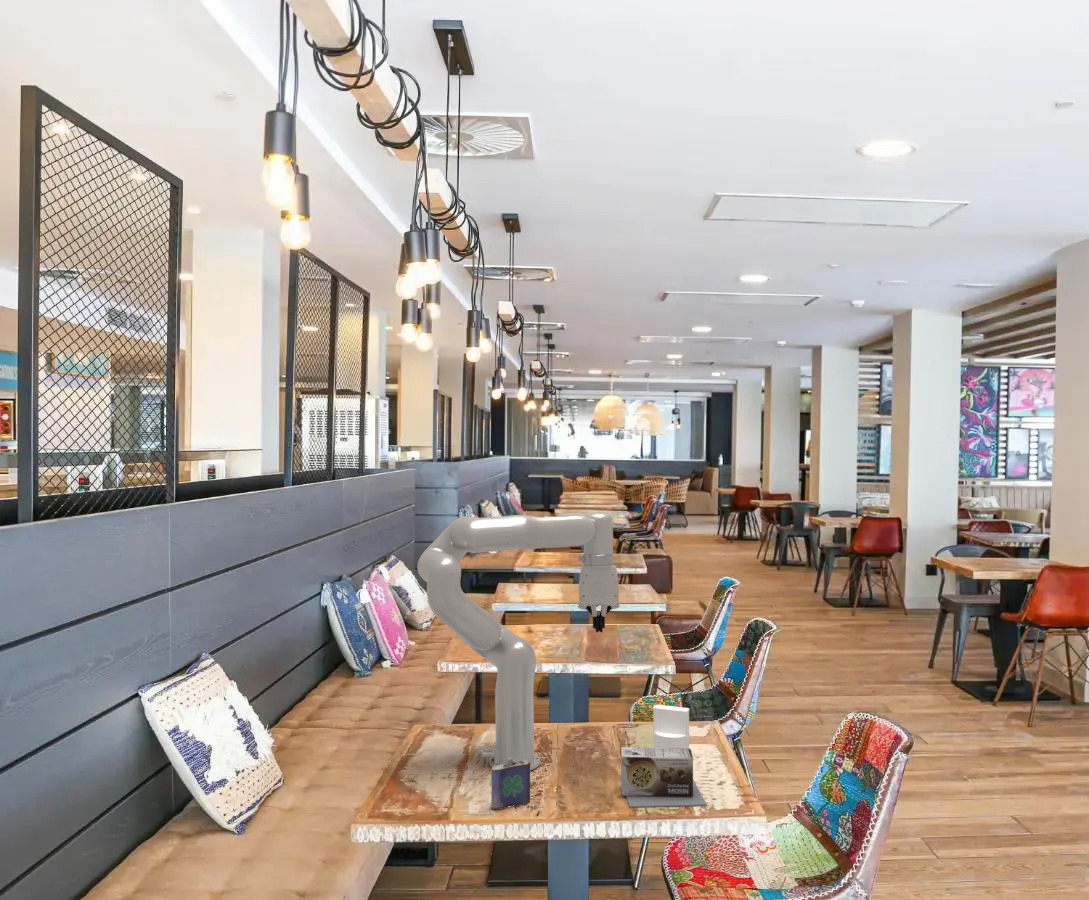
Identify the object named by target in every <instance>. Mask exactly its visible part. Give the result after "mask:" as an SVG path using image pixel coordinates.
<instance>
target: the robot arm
mask: <svg viewBox="0 0 1089 900" xmlns="http://www.w3.org/2000/svg"><path fill="white" fill-rule="evenodd" d="M613 522H614V520H613V516H612V514H610V513H607V512H598V511H597V512H588V513H575V512H563V513H560V514H557V516H556V517H553V516H552V517H545V516H543V517H541V516H533V515H526V514H514V515H505V516H503V515H502V516H489V517H487V516H486V517H471V516H468V515H467V516H465V515H464V516H460V517H458V518H456V519H455V520H453V521H452V522H451V523H450V524H449V525H448V526H447V527H446V528H445V529H444V530H443V531H442V532H441V533H440V534H439V535H438V537H436V539H435V540H434V541H433V542H432V543H430V545H429V546H428V547H427V548H426V549H425V550H424V551H423V553H422V554H421V555H420V557H419V559H418V561H417V572H418V574H419V576H420V578H421V579H422V580H423V581H425V582H426V584H427V585H426V599H427V603H428V605H429V607H430V610H431V611H432V613H433V614H434V615H435V616H436V617H437V618H438V619H439V620H440V621H441V622H442V623H443V624H445V625H446V626H447V627H448V628H449V629H450V630H452V631H453V632H454V633H455V634H456V636H457V638H458V639H460V641H462V642H463V643H464V644H465V645H467V646H468V647H469V648H470V649H472V650H473V651H474V652H475V653H477V654H478V655H479V656H480V657H482V658H483V659H484V660H486V661H487V662H488V663H490V664H491V665H493V666H494V667H495V668H496V669H497V675H496V676H497V677H496V682H495V691H494V693H495V694H494V696H495V697H494V699H495V701H494V702H495V708H494V709H495V742H494V745H490V747H486V746H479V747H477V755H478V756H481V757H482V759H485V758H486V759H487V758H489V765H490V767H491V768H492V767H495V766H498V765H502V764H506V761H507V758H506V757H507V756H509V755H511V756H512V759H513V760H515V761H519V760H523V761H524V760H526V761H528V762H529V763H530V771H532V770H535V769H536V768H538V767H539V766H540V765H541V757H540V756H539V755H538V754H536V753H535V732H534V731H535V730H534V728H535V727H534V725H535V724H534V723H535V722H534V721H535V718H534V716H535V715H534V714H535V713H534V708H535V707H534V704H535V703H534V685H535V684H534V682H535V673H536V667H537V655H536V651H535V650H534V647H533V646H532V645H531V644H530V643H529V641H527V640H526V639H524V637H521V636H519V635H517V634H515V633H514V632H512V631H511V630H509V629H508V628H507V627H505V625H503V624H502V623H501V622H500V621H499V620H498V619H497V618H496V617H495V615H494V614H492V613H491V612H489V611H488V610H486V609H484V608H482V607H481V606H480V605H478V604H477V603H476V602H475V601H474V600H472V599H471V598H470V597H469V596H468V595H467V594H465V592H464V591H463V590H462V587H461V579H462V578H461V577H462V569H461V565H460V561H461V560H462V559H463V558H464V557H465V556H466V555H467V553H473V554H477V553H479V554H480V553H491V552H500V551H502V552H503V551H513V550H533V549H535V550H536V549H549V548H550V549H555V548H568V547H569V548H570V547H578V546H579V547H581V546H583V554H582V555H580V556H577V561H578V562H581V563H583V564H582V565H581V566H580V567H581V568H580V571H579V572H580V574H579V581H578V603H577V604H578V605H577V607H578V609H579V610H584V611H587V612H588V613H589V615H591V616H592V629H594V630H595V632H596V633H599V632H600V633H603V629H605V628H606V627H605V626H606V620H605V619H606V617H607V614H608V613H609V612H611V611H612V610H616V609H619V608H620V603H619V602H620V593H619V592H620V591H619V590H620V589H619V577H618V570H617V566H616V565H615V564H614V559H613V558H614V557H613V556H614V553H613V552H614V550H613V549H614V547H613V546H614V545H613V543H614V540H613V535H614V534H613V533H614V532H613V531H614V530H613V529H614V527H613ZM596 606H601V607H600V612H599V613H598V612H597V607H596ZM511 756H510V757H511Z"/></svg>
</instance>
